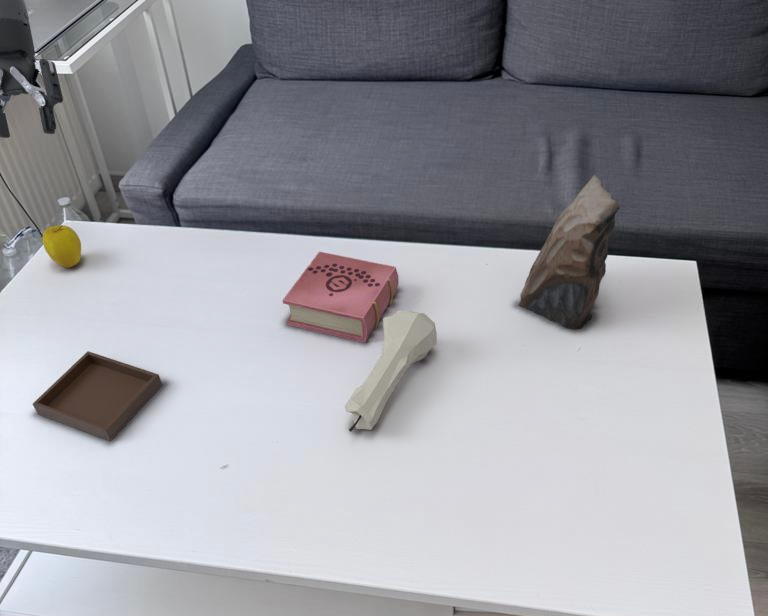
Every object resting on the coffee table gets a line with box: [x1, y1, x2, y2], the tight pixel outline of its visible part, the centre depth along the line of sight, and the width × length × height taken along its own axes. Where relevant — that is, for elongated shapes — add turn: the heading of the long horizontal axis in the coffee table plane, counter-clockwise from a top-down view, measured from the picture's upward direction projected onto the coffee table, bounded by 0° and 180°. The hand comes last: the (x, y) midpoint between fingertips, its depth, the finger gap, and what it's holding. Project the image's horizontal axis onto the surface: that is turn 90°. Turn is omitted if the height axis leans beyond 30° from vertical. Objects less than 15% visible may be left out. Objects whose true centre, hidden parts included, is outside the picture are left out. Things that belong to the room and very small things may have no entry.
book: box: [282, 251, 399, 344], centre depth 126 cm, size 14×15×5 cm
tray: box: [32, 350, 163, 442], centre depth 116 cm, size 14×13×2 cm
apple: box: [42, 224, 82, 269], centre depth 137 cm, size 6×6×8 cm
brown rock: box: [518, 174, 621, 330], centre depth 118 cm, size 13×13×20 cm
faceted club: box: [344, 310, 438, 432], centre depth 113 cm, size 9×8×25 cm
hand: (26, 135), depth 124 cm, fingers open, 8 cm apart
